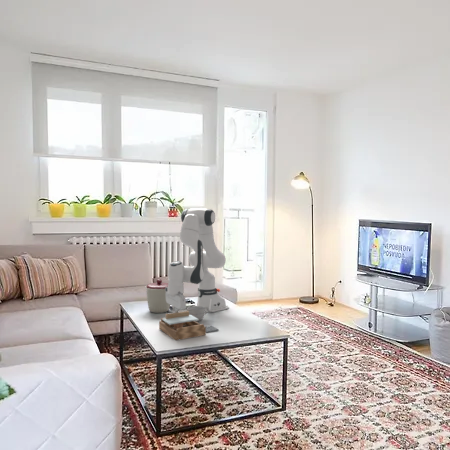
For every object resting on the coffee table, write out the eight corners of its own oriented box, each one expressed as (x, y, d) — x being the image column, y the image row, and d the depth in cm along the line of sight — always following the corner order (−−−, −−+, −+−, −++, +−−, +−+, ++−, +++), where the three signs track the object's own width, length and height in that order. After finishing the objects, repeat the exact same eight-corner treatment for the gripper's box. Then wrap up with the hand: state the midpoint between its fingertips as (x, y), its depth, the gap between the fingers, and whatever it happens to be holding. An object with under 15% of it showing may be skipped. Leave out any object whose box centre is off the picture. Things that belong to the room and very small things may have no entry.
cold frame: (187, 324, 260) (187, 314, 260) (205, 334, 242) (205, 324, 241) (159, 329, 251) (159, 318, 251) (175, 340, 232) (175, 329, 232)
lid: (190, 316, 256) (190, 310, 256) (198, 320, 248) (198, 314, 248) (162, 320, 247) (162, 314, 247) (169, 324, 239) (169, 318, 239)
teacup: (188, 323, 264) (188, 309, 263) (185, 318, 274) (185, 305, 274) (211, 321, 267) (211, 308, 267) (206, 316, 278) (207, 304, 277)
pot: (180, 327, 255) (180, 318, 254) (184, 330, 250) (184, 320, 249) (171, 329, 252) (171, 319, 251) (175, 331, 247) (175, 321, 246)
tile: (211, 327, 256) (211, 325, 256) (218, 330, 249) (218, 329, 249) (199, 329, 252) (199, 327, 252) (206, 332, 245) (206, 331, 245)
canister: (176, 313, 285) (176, 281, 283) (148, 315, 278) (148, 282, 276) (169, 306, 301) (169, 276, 300) (142, 308, 295) (142, 277, 293)
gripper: (188, 293, 244) (188, 317, 245) (173, 286, 262) (173, 309, 263) (178, 294, 241) (178, 319, 242) (163, 287, 259) (163, 310, 260)
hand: (175, 314), depth 253 cm, fingers closed
